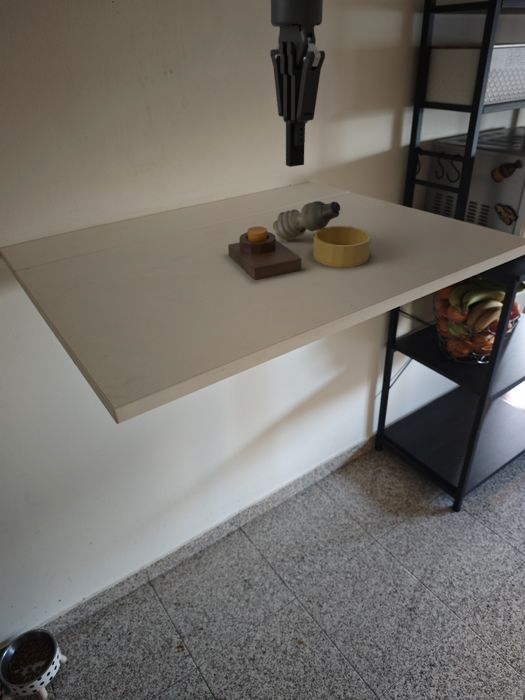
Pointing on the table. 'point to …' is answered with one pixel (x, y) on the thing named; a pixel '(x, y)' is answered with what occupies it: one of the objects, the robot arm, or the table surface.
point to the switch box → (264, 257)
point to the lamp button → (257, 234)
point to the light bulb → (305, 219)
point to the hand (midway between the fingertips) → (294, 164)
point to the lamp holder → (341, 246)
